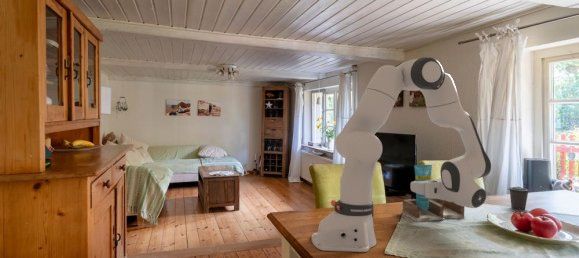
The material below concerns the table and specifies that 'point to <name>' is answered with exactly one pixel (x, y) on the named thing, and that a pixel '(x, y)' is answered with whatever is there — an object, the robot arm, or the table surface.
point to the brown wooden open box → (422, 211)
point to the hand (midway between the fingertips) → (421, 182)
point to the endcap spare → (450, 208)
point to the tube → (422, 175)
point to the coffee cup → (518, 197)
